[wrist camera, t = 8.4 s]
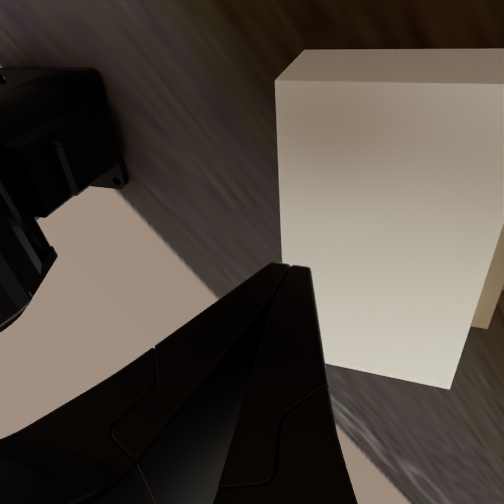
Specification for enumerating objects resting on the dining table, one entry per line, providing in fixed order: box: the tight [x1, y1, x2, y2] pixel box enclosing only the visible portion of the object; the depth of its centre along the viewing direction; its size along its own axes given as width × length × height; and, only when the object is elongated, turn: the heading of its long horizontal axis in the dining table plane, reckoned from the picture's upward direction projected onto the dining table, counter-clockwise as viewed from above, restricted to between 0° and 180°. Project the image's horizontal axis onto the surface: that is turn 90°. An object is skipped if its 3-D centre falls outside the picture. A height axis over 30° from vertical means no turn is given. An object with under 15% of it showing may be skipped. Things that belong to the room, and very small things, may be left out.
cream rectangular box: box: [275, 49, 504, 390], centre depth 19 cm, size 8×14×4 cm, turn 4°
